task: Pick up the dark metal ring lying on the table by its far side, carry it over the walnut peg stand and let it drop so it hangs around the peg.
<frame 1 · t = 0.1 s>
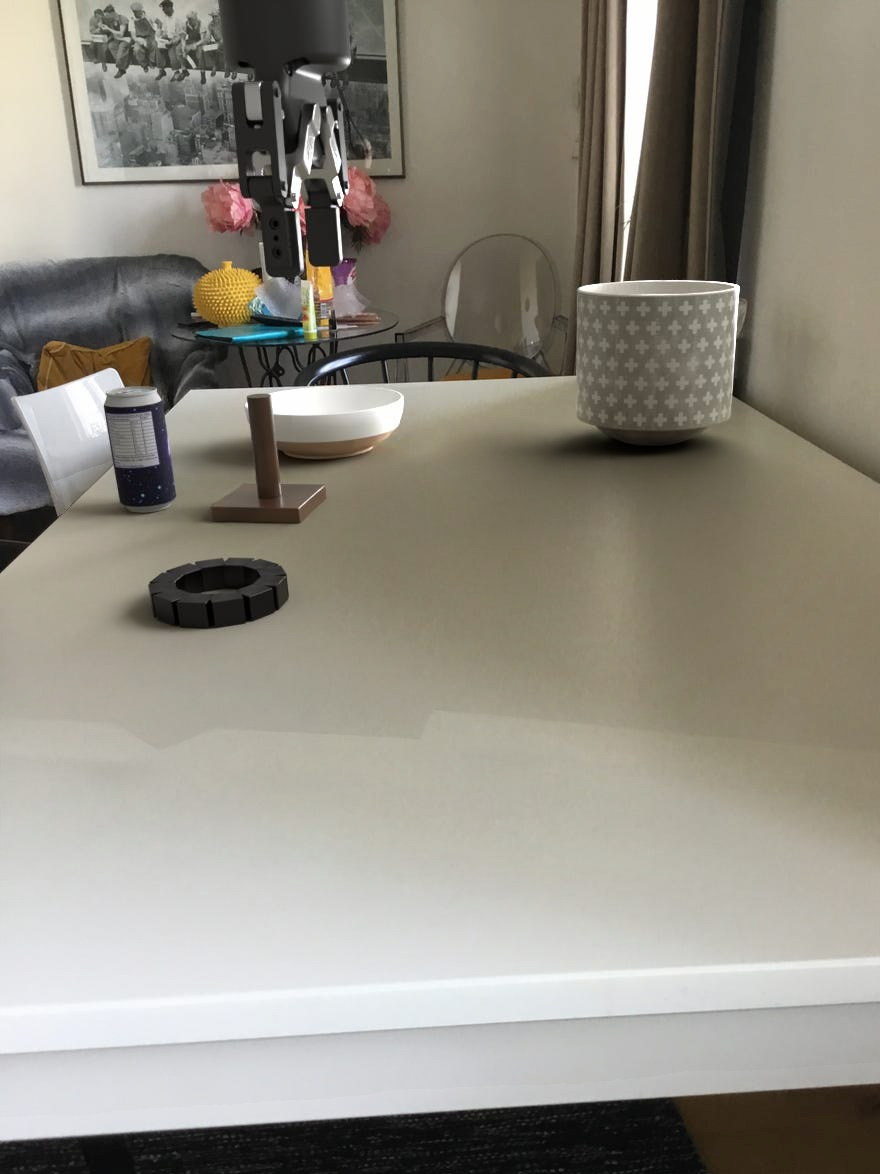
hand: (306, 271, 68), 25 cm above the table, tool pointing down, fingers open, 8 cm apart
planter: (651, 440, 132), on the table
bowl: (328, 450, 132), on the table
ring: (220, 602, 83), on the table
beverage can: (149, 508, 110), on the table
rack: (271, 509, 107), on the table
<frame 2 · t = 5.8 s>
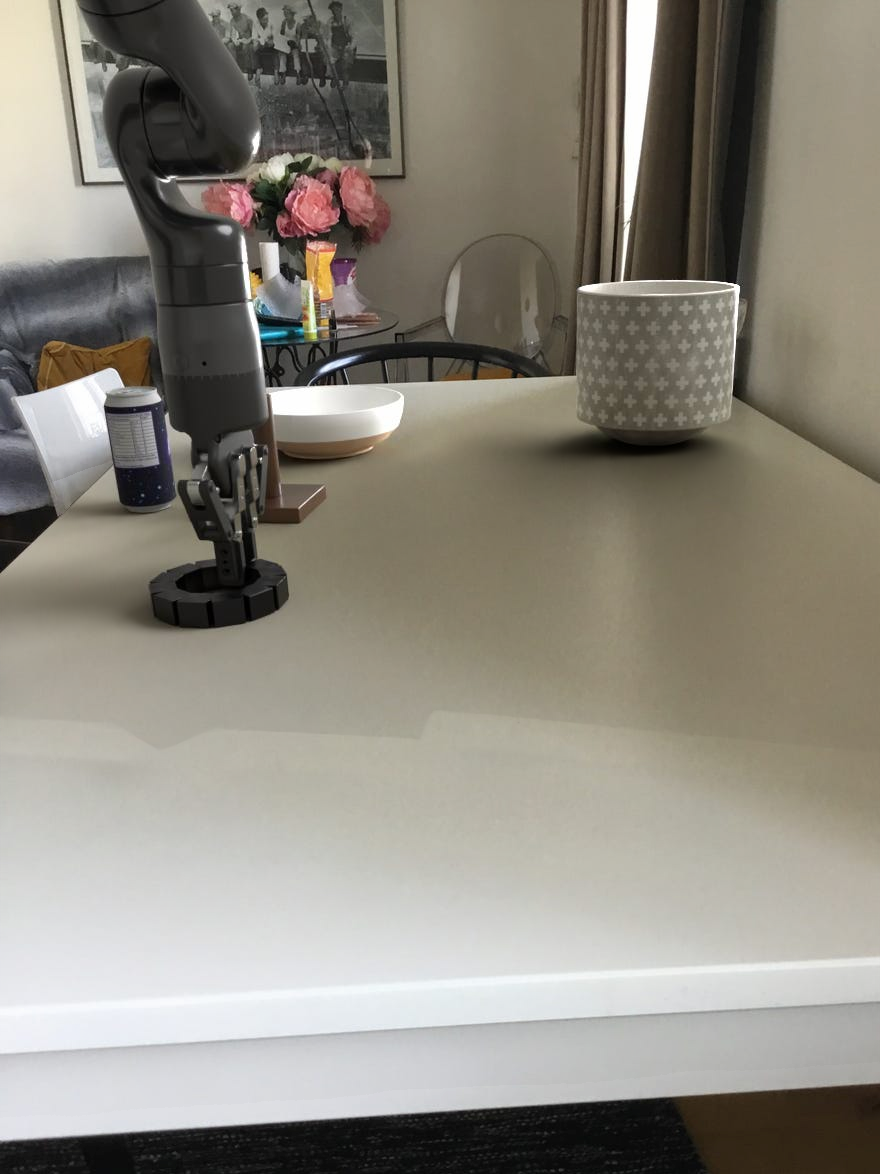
hand: (239, 577, 87), 1 cm above the table, tool pointing down, fingers closed on ring, 2 cm apart
ring: (221, 602, 83), on the table, touching gripper
everything else where it was.
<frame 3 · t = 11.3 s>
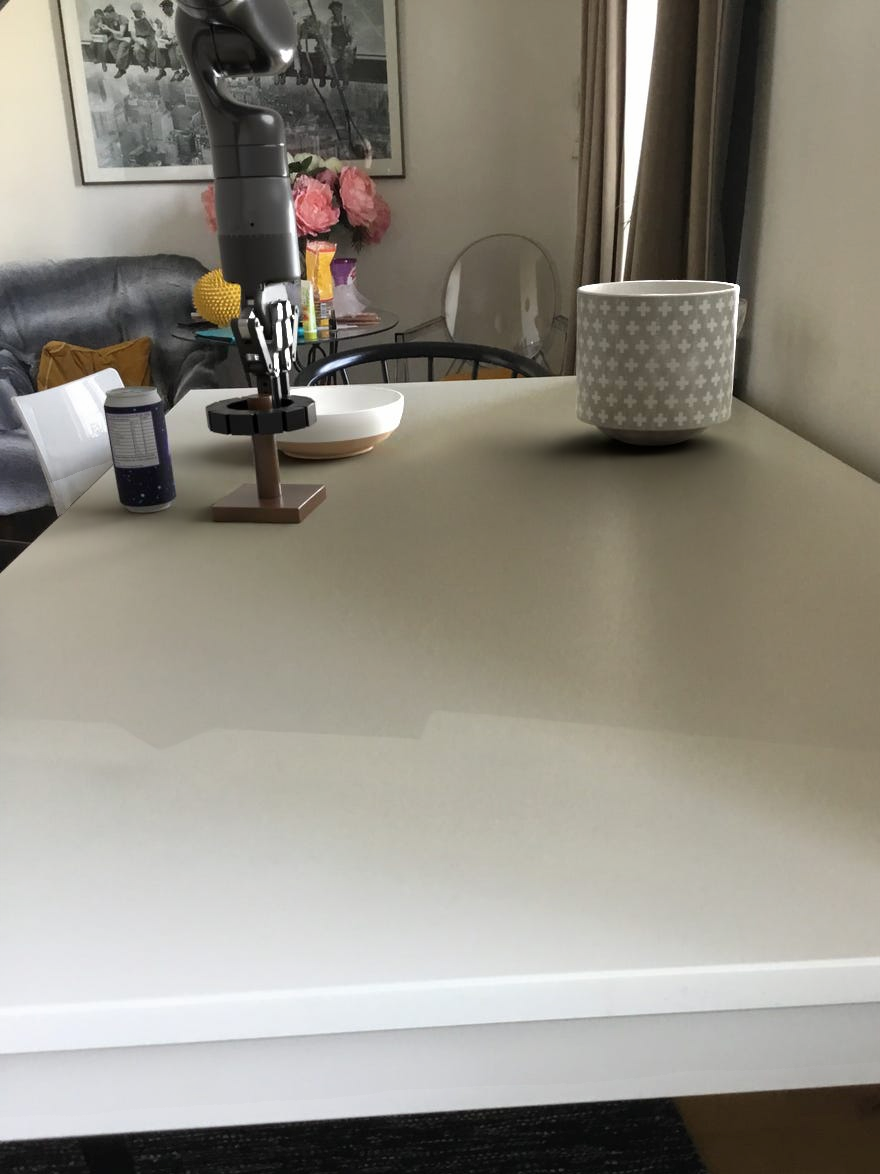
hand: (276, 410, 108), 9 cm above the table, tool pointing down, fingers closed on ring
ring: (262, 424, 104), point 9 cm above the table, touching gripper
everything else where it was.
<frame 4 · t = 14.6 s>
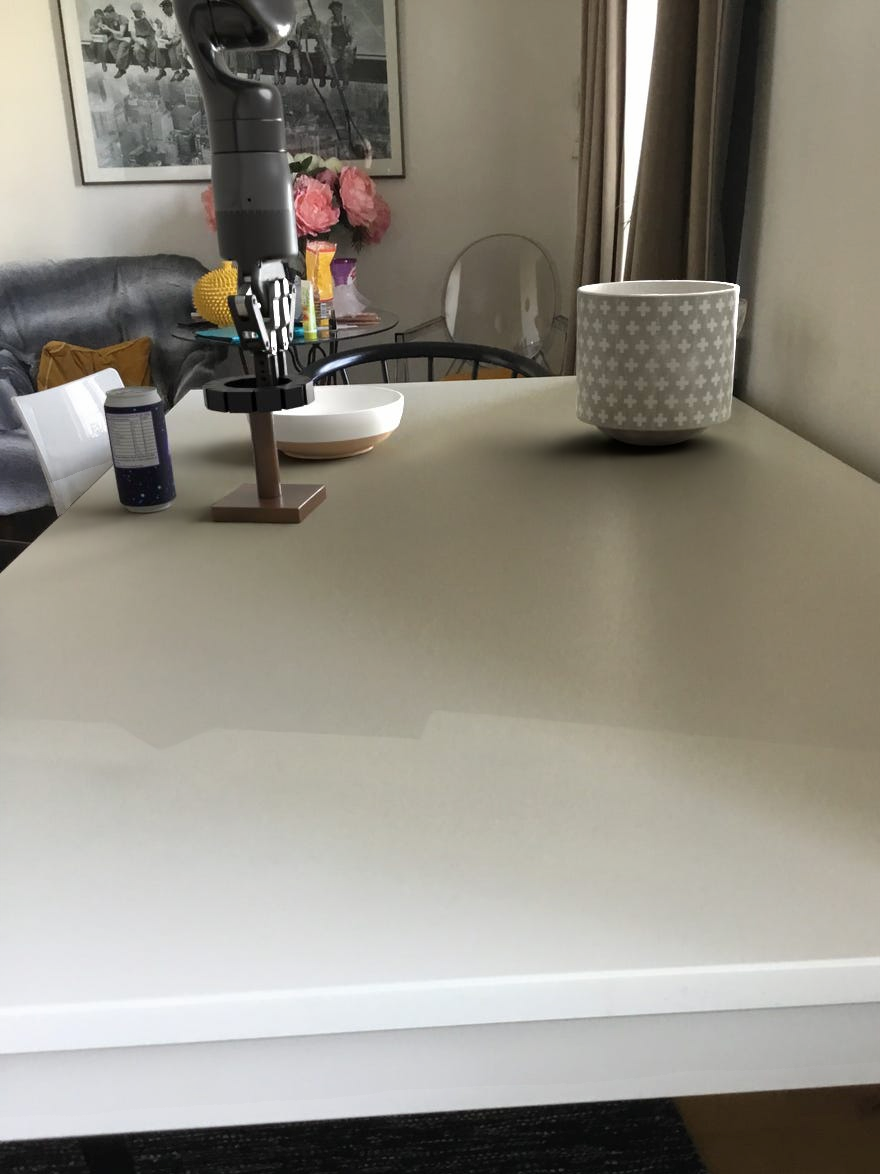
hand: (273, 389, 107), 11 cm above the table, tool pointing down, fingers closed on ring
ring: (260, 403, 103), point 11 cm above the table, touching gripper
everything else where it was.
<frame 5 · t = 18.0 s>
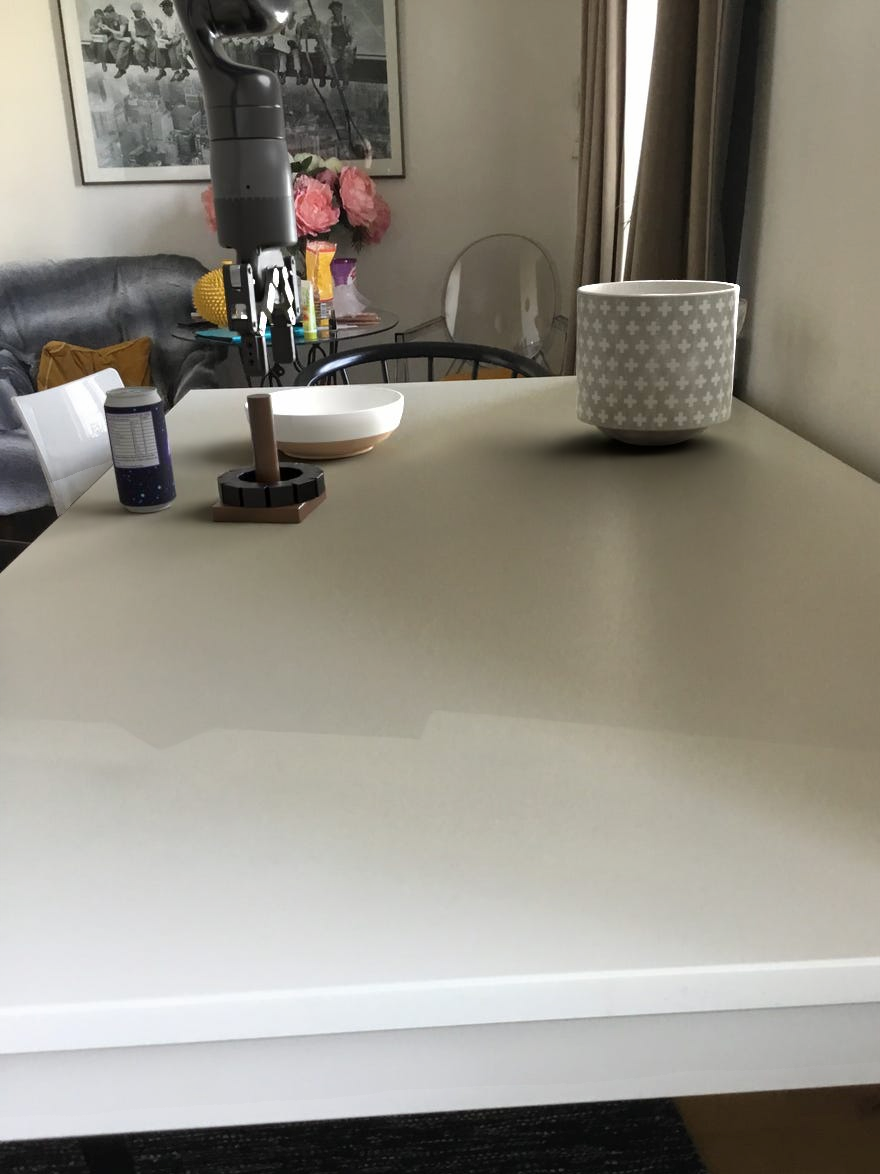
hand: (271, 369, 106), 13 cm above the table, tool pointing down, fingers open, 8 cm apart
ring: (272, 493, 107), point 1 cm above the table, touching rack
everything else where it was.
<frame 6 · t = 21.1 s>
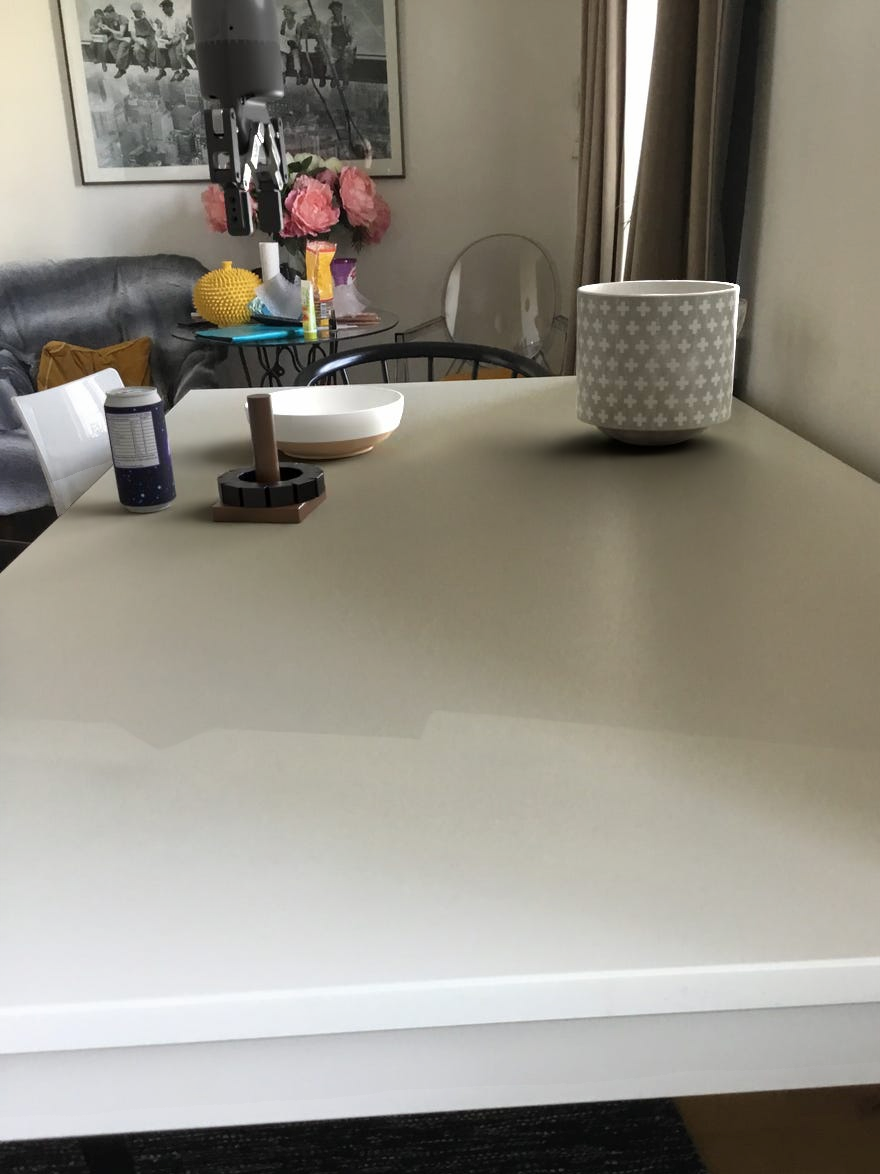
hand: (257, 234, 101), 26 cm above the table, tool pointing down, fingers open, 8 cm apart
nothing on the table moved.
at the end: ring 0.5 cm off-centre on the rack, point 1.5 cm above the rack's base; the gripper is holding nothing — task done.
